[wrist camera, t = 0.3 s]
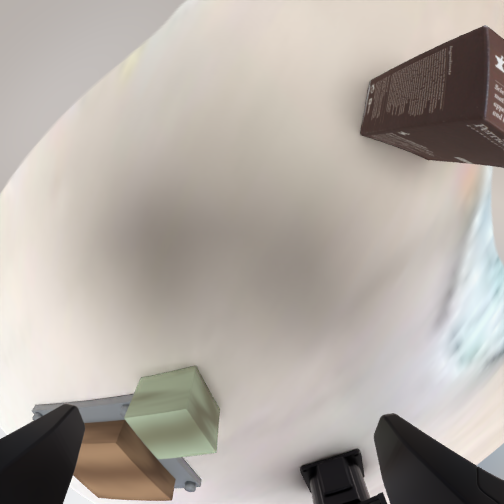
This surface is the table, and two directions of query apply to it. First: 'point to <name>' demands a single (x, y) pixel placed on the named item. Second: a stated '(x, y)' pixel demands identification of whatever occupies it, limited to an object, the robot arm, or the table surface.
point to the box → (444, 102)
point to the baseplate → (116, 411)
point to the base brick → (121, 464)
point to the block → (175, 414)
